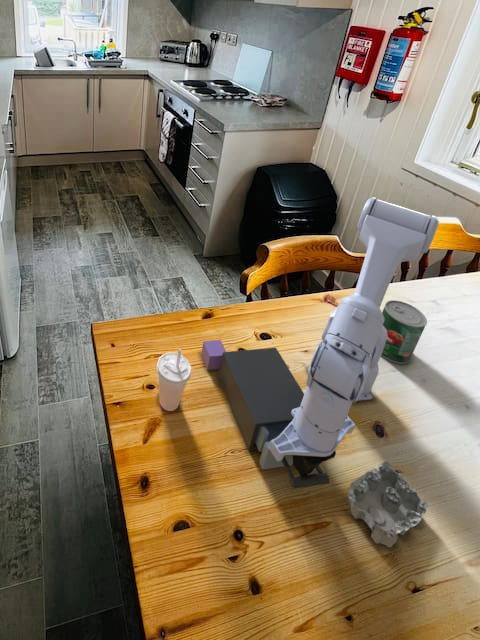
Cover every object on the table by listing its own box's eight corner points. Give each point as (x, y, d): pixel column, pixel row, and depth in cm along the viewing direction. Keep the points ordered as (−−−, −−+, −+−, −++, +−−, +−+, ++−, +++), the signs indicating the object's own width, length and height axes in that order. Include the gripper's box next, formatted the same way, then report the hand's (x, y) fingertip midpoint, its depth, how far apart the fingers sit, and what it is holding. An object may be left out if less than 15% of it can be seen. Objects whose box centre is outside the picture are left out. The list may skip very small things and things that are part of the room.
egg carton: (382, 556, 57) (391, 540, 55) (337, 499, 63) (344, 484, 62) (427, 521, 61) (437, 505, 59) (381, 470, 67) (388, 455, 66)
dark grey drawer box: (308, 442, 71) (318, 416, 68) (248, 450, 69) (255, 424, 66) (269, 371, 84) (275, 347, 82) (217, 376, 82) (222, 352, 80)
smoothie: (184, 421, 73) (194, 367, 68) (150, 413, 74) (157, 360, 69) (186, 390, 79) (195, 338, 74) (154, 383, 80) (161, 332, 75)
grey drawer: (336, 493, 63) (345, 473, 61) (276, 503, 61) (283, 482, 59) (278, 389, 80) (284, 370, 78) (229, 394, 78) (234, 375, 76)
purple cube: (218, 353, 88) (220, 339, 86) (224, 368, 84) (227, 355, 83) (200, 354, 87) (203, 341, 86) (207, 370, 84) (209, 356, 82)
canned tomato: (416, 354, 91) (433, 317, 86) (401, 369, 87) (418, 332, 82) (379, 330, 97) (394, 295, 92) (364, 344, 92) (378, 308, 88)
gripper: (337, 377, 64) (317, 431, 70) (264, 401, 60) (247, 457, 65) (376, 418, 58) (350, 474, 63) (297, 449, 54) (276, 506, 59)
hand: (300, 469), depth 64 cm, fingers closed, pressing on grey drawer
